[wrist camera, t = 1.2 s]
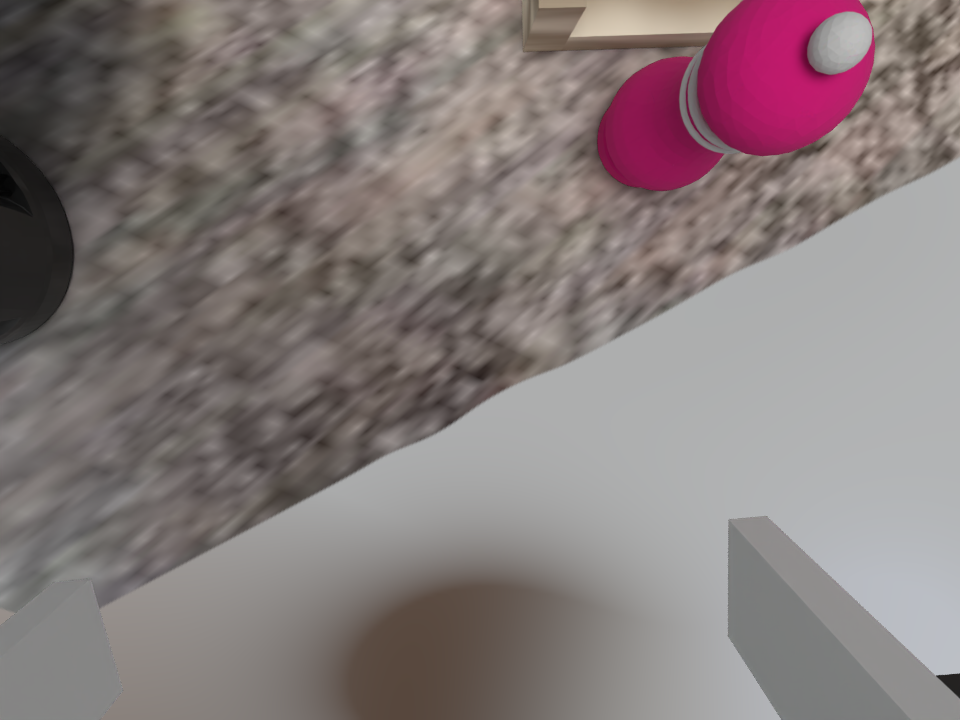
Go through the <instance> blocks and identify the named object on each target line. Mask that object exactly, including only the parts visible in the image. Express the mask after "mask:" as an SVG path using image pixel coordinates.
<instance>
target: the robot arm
mask: <svg viewBox="0 0 960 720" xmlns="http://www.w3.org/2000/svg"><path fill="white" fill-rule="evenodd" d="M71 269H72V242H71V235H70V231H69V226H68V223H67V219H66V216H65V214H64V211H63V209H62V206H61V204H60V202H59V200H58V198H57V196H56V194H55V192H54V191H53V189H52V187H51V186H50V184H49V183H48V181H47V180H46V178H45V177H44V176H43V174H42V173H41V172H40V171H39V169H38V168H37V167H36V166H35V165H34V164H33V163H32V161H31V160H29V159H28V158H27V157H26V156H25V155H24V154H23V153H22V152H21V151H20V150H19V149H18V148H16V147H15V146H14V145H12V144H11V143H10V142H8V141H7V140H6V139H4V138H3V137H1V136H0V344H3V343H7V342H10V341H13V340H16V339H19V338H21V337H23V336H25V335H27V334H29V333H31V332H32V331H34V330H35V329H37V328H38V327H39V326H41V325H42V324H43V323H44V322H45V321H46V320H47V319H48V318H49V317H50V316H51V315H52V314H53V312H54V311H55V310H56V308H57V307H58V305H59V304H60V302H61V300H62V298H63V296H64V294H65V292H66V289H67V286H68V283H69V279H70V275H71ZM728 532H729V533H728V534H729V535H728V536H729V537H728V538H729V539H728V540H729V541H728V545H729V546H728V637H729V638H730V640H731V642H732V643H733V644H734V646H735V648H736V649H737V651H738V653H739V654H740V655H741V657H742V659H743V660H744V662H745V664H746V665H747V667H748V668H749V670H750V671H751V673H752V674H753V676H754V678H755V679H756V681H757V682H758V684H759V685H760V687H761V689H762V690H763V692H764V693H765V695H766V696H767V698H768V699H769V701H770V703H771V704H772V706H773V707H774V709H775V710H776V712H777V714H778V715H779V717H780V718H781V720H960V674H949V675H938V676H935V675H934V674H933V673H932V672H931V671H930V670H929V669H928V668H927V667H926V666H925V665H924V664H923V663H922V662H920V661H919V660H918V659H917V658H916V657H915V656H914V655H913V654H912V653H911V652H910V651H909V650H908V649H907V648H905V646H904V645H902V644H901V643H900V642H899V641H898V640H897V639H896V638H895V637H894V636H893V635H892V634H891V633H890V632H889V631H888V630H887V629H885V628H884V627H883V626H882V625H881V624H880V623H879V622H878V621H877V620H876V619H875V618H874V617H873V616H872V615H871V614H870V613H869V612H868V611H866V610H865V609H864V608H863V607H862V606H861V605H860V604H859V603H858V602H857V601H856V600H855V599H854V598H853V597H852V596H851V595H849V594H848V593H847V592H846V591H845V590H844V589H843V588H842V587H841V586H840V585H839V584H838V583H837V582H836V581H835V580H834V579H832V577H830V576H829V575H828V574H827V573H826V572H825V571H824V570H823V569H822V568H821V567H820V566H819V565H818V564H817V563H815V562H814V561H813V560H812V559H811V558H810V557H809V556H808V555H807V554H806V553H805V552H804V551H803V550H802V549H801V548H800V547H799V546H798V545H797V544H795V543H794V542H793V541H792V540H791V539H790V538H789V537H788V536H787V535H786V534H785V533H784V532H783V531H782V530H781V529H780V528H779V527H778V526H776V525H775V524H774V523H773V522H772V521H771V520H770V519H769V518H768V517H767V516H761V517H750V518H739V519H729V531H728ZM122 691H123V688H122V685H121V681H120V679H119V675H118V671H117V668H116V664H115V661H114V658H113V654H112V651H111V647H110V644H109V640H108V637H107V633H106V630H105V627H104V623H103V620H102V616H101V613H100V609H99V606H98V603H97V599H96V596H95V592H94V589H93V585H92V582H91V579H81V580H70V581H59V582H53V583H52V584H51V585H50V586H48V587H47V588H46V589H45V590H43V591H42V592H41V593H40V594H38V595H37V596H36V597H35V598H34V599H32V600H31V601H30V602H29V603H27V604H26V605H25V606H24V607H22V608H21V609H20V610H19V611H17V612H16V613H15V614H14V615H13V616H12V617H10V618H9V619H8V620H6V621H5V622H4V623H3V624H1V625H0V720H100V719H101V718H102V717H103V715H104V714H105V713H106V712H107V710H108V709H109V708H110V706H111V705H112V704H113V703H114V701H115V700H116V699H117V698H118V696H119V695H120V694H121V692H122Z"/></svg>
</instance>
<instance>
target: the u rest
mask: <svg viewBox="0 0 960 720" xmlns="http://www.w3.org/2000/svg"><path fill="white" fill-rule="evenodd" d="M741 1H743V0H522V28H523V52H533V51H563V50H594V49H625V48H655V47H686V46H705V45H706V44H708V42H709V40H710V38H711V36H712V34H713V33H714V31H715V29H716V27H717V26H718V25H719V23H720V22H721V21H722V20H723V19H724V18H725V17H726V15H727V14H728V13H729V12H730V11H732V10H733V9H734V8H735V7H736V6H737V5H738V4H739V3H740V2H741Z"/></svg>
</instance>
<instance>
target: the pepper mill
mask: <svg viewBox="0 0 960 720" xmlns="http://www.w3.org/2000/svg"><path fill="white" fill-rule="evenodd" d="M874 52H875V42H874V33H873V27H872V25H871V22H870V19H869V16H868V14H867V12H866V10H865V9H864V7H863V6H862V4H861V3H860V1H859V0H743V1H741V2H740V3H739V4H738V5H737V6H736V7H735V8H734V9H733V10H732V11H730V12H729V13H728V14H727V15H726V17H725V18H724V19H723V20H722V21H721V22H720V23H719V25H718V26H717V27H716V29H715V31H714V33H713V34H712V36H711V38H710V40H709V42H708V44H706V45H705V46H704V47H703V48H702V49H701V50H700V51H699V52H698V53H697V54H696V55H695V56H694V58H693V57H672V58H666V59H661V60H659V61H656V62H654V63H652V64H649V65H648V66H646V67H644V68H642V69H641V70H639V71H638V72H636V73H635V74H633V75H632V76H631V77H630V78H629V79H628V80H627V81H626V82H625V83H624V84H623V85H622V87H621V88H620V89H619V91H618V92H617V94H616V96H615V97H614V99H613V101H612V103H611V105H610V107H609V108H608V109H607V111H606V112H605V114H604V116H603V118H602V120H601V123H600V126H599V130H598V140H597V144H598V152H599V156H600V159H601V161H602V163H603V165H604V167H605V168H606V170H607V171H608V172H609V173H610V174H611V175H612V177H614V178H615V179H616V180H618V181H619V182H621V183H623V184H626V185H628V186H632V187H641V188H645V189H649V190H655V191H667V190H673V189H677V188H681V187H683V186H686V185H688V184H691V183H693V182H695V181H696V180H698V179H700V178H701V177H703V176H704V175H705V174H707V173H708V172H709V171H710V170H711V169H712V168H713V167H714V166H715V165H716V164H717V163H718V161H719V160H720V159H721V158H722V156H723V155H724V154H733V153H739V152H743V153H745V154H751V155H758V156H769V155H779V154H784V153H789V152H792V151H794V150H797V149H800V148H802V147H804V146H807V145H809V144H811V143H813V142H815V141H817V140H818V139H820V138H821V137H823V136H824V135H826V134H827V133H829V132H830V131H832V130H833V129H834V128H835V127H836V126H837V125H838V124H839V123H840V122H841V121H842V120H843V119H844V118H845V117H846V116H847V115H848V114H849V113H850V111H851V110H852V108H853V107H854V105H855V104H856V102H857V101H858V99H859V98H860V96H861V95H862V93H863V91H864V89H865V87H866V85H867V82H868V80H869V77H870V74H871V70H872V67H873V63H874Z"/></svg>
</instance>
